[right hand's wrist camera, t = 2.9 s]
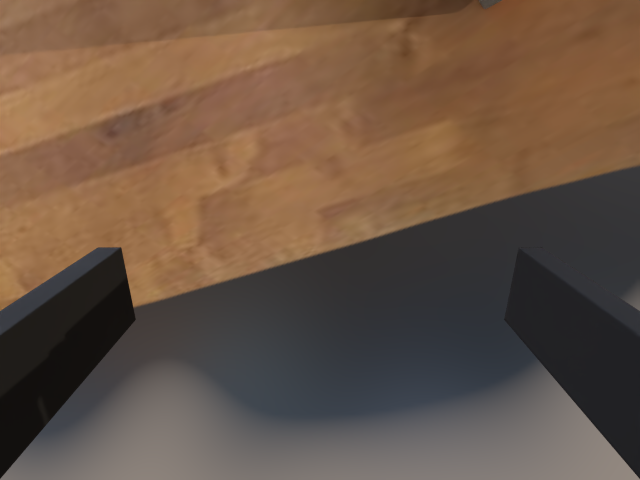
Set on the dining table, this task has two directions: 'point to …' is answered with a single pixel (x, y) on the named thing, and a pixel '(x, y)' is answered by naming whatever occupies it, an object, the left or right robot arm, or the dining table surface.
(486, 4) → the hard drive box
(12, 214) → the dining table surface
